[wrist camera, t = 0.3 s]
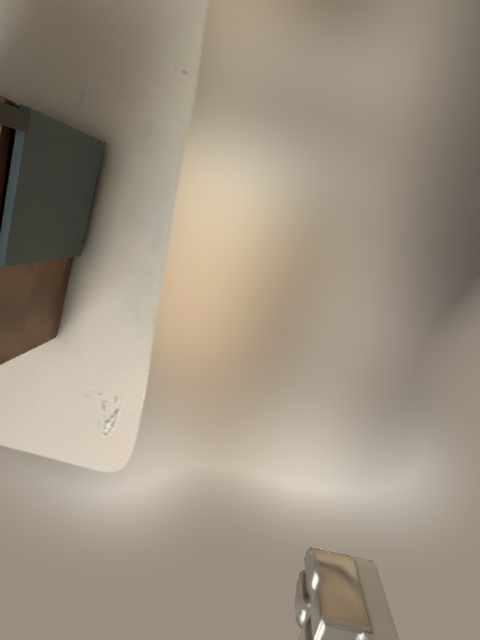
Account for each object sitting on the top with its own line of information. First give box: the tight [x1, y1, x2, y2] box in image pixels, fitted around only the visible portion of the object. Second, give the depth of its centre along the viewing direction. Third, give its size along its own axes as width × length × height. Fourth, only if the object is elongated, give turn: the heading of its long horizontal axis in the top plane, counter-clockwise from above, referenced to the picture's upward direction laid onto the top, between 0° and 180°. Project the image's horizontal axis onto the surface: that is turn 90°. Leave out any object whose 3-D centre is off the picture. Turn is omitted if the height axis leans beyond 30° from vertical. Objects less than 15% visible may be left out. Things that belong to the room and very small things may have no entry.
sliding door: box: [0, 101, 105, 267], centre depth 22 cm, size 9×1×12 cm, turn 160°
